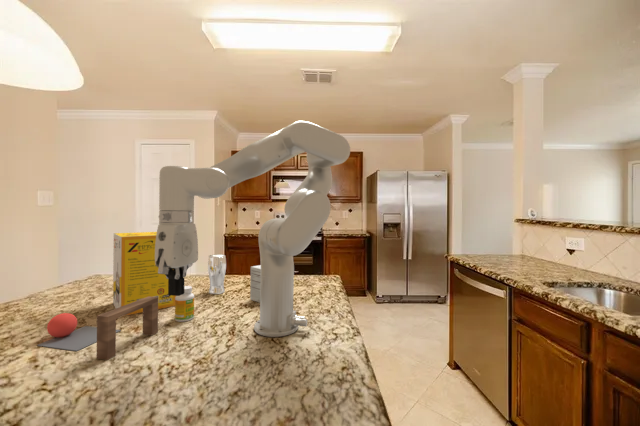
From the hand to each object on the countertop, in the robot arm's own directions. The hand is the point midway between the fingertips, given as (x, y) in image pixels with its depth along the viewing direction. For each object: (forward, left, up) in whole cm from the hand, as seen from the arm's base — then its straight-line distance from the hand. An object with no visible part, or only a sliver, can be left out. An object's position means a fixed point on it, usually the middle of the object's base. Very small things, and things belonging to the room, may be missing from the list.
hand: (176, 294), depth 70 cm
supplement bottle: (+11, -18, -14) cm, 25 cm away
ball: (+34, +1, -10) cm, 35 cm away
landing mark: (+28, 0, -13) cm, 31 cm away
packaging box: (+33, -26, -14) cm, 44 cm away
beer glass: (+17, -46, -14) cm, 51 cm away
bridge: (+13, 0, -13) cm, 19 cm away
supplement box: (-5, -42, -14) cm, 44 cm away
